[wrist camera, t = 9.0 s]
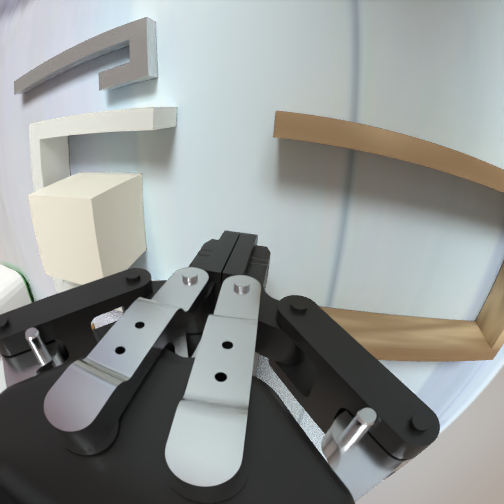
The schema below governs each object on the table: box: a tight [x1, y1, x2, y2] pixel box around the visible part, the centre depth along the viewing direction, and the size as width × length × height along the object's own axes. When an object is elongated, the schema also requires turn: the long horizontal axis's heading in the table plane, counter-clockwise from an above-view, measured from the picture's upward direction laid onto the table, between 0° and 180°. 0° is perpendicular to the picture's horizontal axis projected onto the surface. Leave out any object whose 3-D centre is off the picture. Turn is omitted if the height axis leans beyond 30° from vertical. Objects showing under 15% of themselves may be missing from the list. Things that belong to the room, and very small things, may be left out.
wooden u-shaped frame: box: [273, 111, 504, 361], centre depth 15 cm, size 13×20×4 cm
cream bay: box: [29, 107, 177, 312], centre depth 17 cm, size 13×10×3 cm
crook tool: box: [14, 17, 158, 95], centre depth 14 cm, size 4×13×1 cm, turn 93°
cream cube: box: [28, 172, 147, 285], centre depth 16 cm, size 6×6×6 cm
